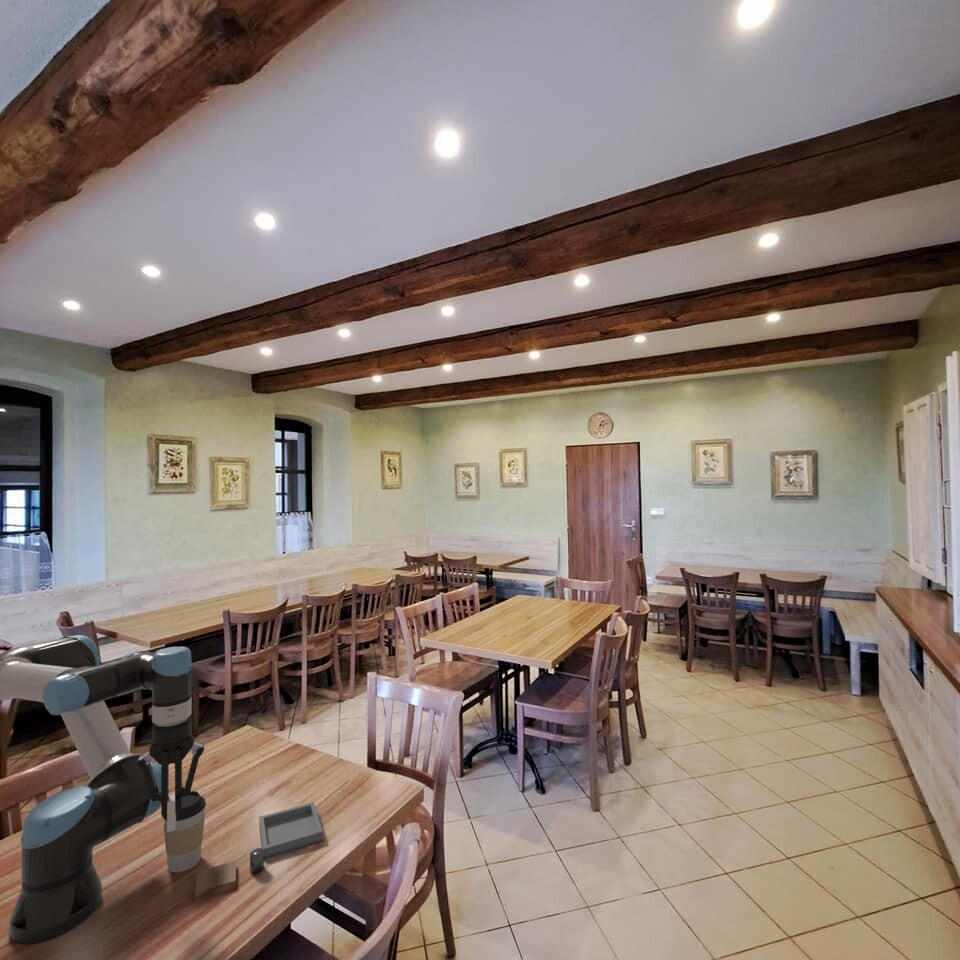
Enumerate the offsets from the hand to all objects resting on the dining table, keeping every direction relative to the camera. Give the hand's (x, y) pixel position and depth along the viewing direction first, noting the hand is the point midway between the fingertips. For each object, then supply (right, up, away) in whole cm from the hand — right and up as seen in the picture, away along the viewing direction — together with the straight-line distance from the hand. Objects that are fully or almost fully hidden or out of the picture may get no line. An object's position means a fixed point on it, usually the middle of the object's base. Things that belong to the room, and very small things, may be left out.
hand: (171, 828), depth 113 cm
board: (+8, -16, +4) cm, 18 cm away
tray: (+19, -15, +20) cm, 32 cm away
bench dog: (+16, -15, +8) cm, 23 cm away
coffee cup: (-3, -16, +10) cm, 19 cm away
